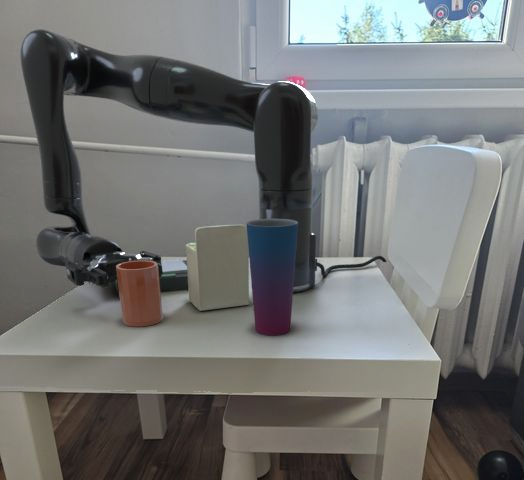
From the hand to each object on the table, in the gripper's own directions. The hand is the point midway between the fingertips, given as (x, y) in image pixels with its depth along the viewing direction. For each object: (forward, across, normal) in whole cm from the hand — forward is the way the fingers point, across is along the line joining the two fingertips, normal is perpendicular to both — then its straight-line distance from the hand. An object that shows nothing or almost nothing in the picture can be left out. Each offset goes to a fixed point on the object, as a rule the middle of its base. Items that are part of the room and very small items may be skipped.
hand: (133, 275), depth 74 cm
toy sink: (+2, +14, +7) cm, 15 cm away
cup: (+17, +13, +7) cm, 23 cm away
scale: (-17, +11, +6) cm, 21 cm away
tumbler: (+2, 0, +6) cm, 7 cm away
